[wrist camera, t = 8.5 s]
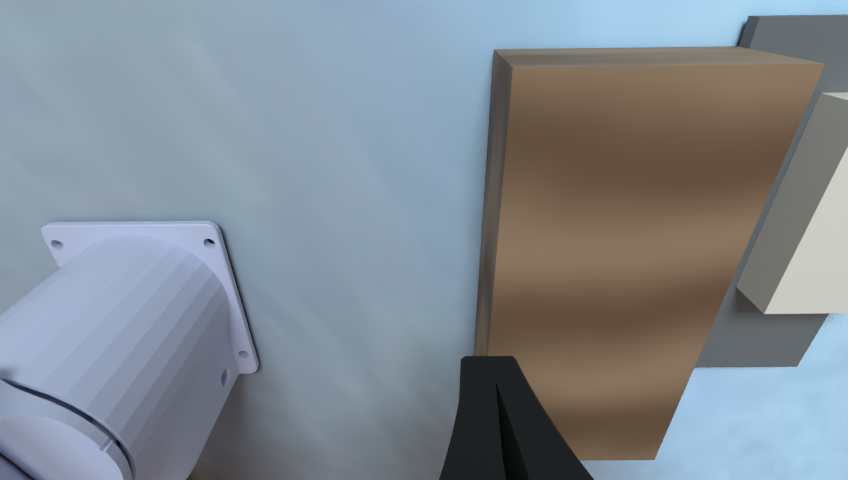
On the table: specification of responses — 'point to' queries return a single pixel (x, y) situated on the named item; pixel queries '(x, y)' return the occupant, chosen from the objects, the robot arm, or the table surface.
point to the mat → (738, 317)
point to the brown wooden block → (623, 221)
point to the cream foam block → (807, 224)
